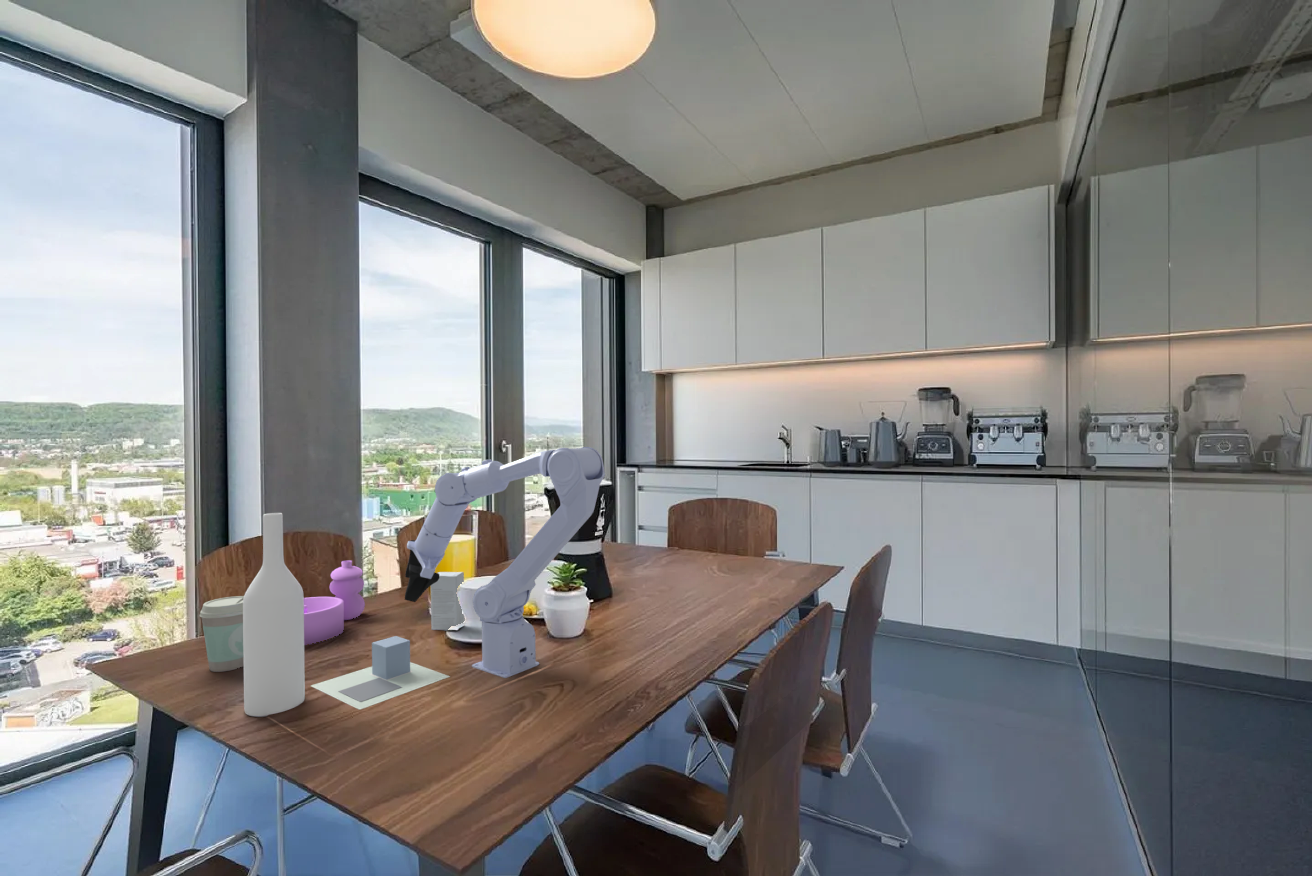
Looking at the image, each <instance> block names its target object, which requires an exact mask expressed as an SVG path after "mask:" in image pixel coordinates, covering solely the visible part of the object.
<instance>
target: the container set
mask: <svg viewBox="0 0 1312 876" xmlns="http://www.w3.org/2000/svg"><path fill="white" fill-rule="evenodd" d="M340 564H341V566H339V567H337V568H335V569H334V570H332V571H331V573H330V578H331V580H332V581H331V582H330V584H329V591H330V593H331V594H333V595H335V596H311V597H304V646H308V645H307V644H309V645H313V644H312V643H314V644H317V643H316V642H319V643H321V642H320V641H322V642H324V641H323V640H326V641H328V640H327V639H329V638H332V637H334V636H336V637H338V636H339V634H340V635H341V634H342V633H343V632H344V631H345V629H344V627H345V624H344V623H345V621H347V620H348V621H349V620H352V619H353V618H354V619H357V618H359V617H358V616H360V615H362V613H363V612H364V610H365V607H366V606H365V605H366V603H365V599H364V598H363V596H362V595H361V594H359V593H360V592H361V591H362V590H363V589H364V587H365V582H364V579H363V578H361V577H362V576H363V573H364V572H363V570H362V568H360V567H358V566H355V565H352V564H353V560H350V559H349V560H342V561H341V563H340ZM356 617H357V618H356ZM354 619H353V620H354ZM343 630H344V631H343ZM334 638H335V637H334ZM332 639H333V638H332ZM329 640H330V639H329Z"/></svg>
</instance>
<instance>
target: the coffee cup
mask: <svg viewBox="0 0 1312 876" xmlns="http://www.w3.org/2000/svg"><path fill="white" fill-rule="evenodd" d="M243 599H244V595H239V596H236V595H235V596H227V597H220V598H215V599H213V600H212V599H211V600H209V601H206V602H204V603H203V604H202V608H201V610H200V612H199V613H200V614H199V617H200V618H201V622H202V629H203V636H204V641H205V643H204V644H205V649H206V657H207V663H208V668H209V671H211V672H214V673H221V672H222V673H223V672H229V671H234V670H238V669H241V668H244V650H243ZM240 667H241V668H240ZM237 668H238V669H237Z"/></svg>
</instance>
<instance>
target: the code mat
mask: <svg viewBox="0 0 1312 876" xmlns="http://www.w3.org/2000/svg"><path fill="white" fill-rule="evenodd" d="M447 678H451V676H449V675H448V674H444V673H442V672H438V671H436V670H434V669H431V668H428V667H425V666H423V665H420V664H417V663H414V662H411V661H410V672H408V673H405V674H402V675H399V676H396V677H393V678H390V679H387V680H386V679H383V678H381V677H378V676H376V675H373V674H372V665H371V666H367V667H366V668H363V669H359V670H356V671H353V672H350V673H346V674H343V675H339V676H337V677H336V676H335V677H334V678H331V679H327V680H325V681H321V682H317V683H315V684H312V685H310V687H312V688H313V689H316V690H317V691H320V692H322V693H323V694H325V695H328V696H330V697H332V698H334V699H337V700H338V701H340V702H343V703H345V704H346V705H348V706H351V707H353V708H355V709H357V710H363V709H366V708H369V707H371V706H374V705H377V704H380V703H382V702H385V701H387V700H390V699H393V698H396V697H399V696H401V695H404V694H407V693H409V692H412V691H414V690H417V689H421V688H422V687H426V686H428V685H431V684H434V683H436V682H441V680H445V679H447Z"/></svg>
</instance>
